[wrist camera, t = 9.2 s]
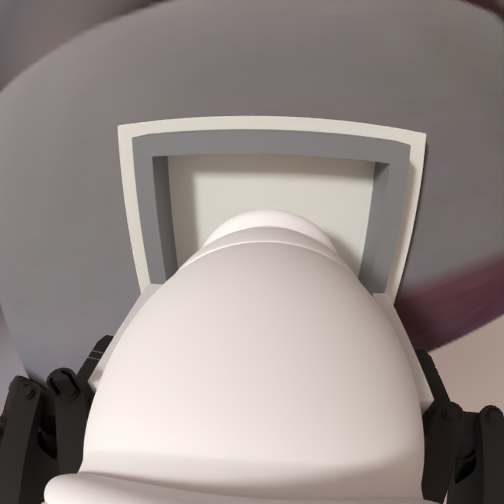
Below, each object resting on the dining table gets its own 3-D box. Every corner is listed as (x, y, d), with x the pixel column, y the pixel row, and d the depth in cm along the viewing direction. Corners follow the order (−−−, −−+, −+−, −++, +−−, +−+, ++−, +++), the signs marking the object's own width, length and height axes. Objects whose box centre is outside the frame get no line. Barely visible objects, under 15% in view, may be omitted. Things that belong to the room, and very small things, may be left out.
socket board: (156, 331, 26) (143, 359, 23) (125, 124, 18) (98, 128, 15) (375, 340, 24) (384, 370, 21) (418, 132, 16) (445, 138, 13)
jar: (329, 351, 20) (348, 566, 6) (182, 330, 20) (107, 539, 6) (378, 206, 15) (553, 484, 1) (185, 175, 15) (-63, 430, 2)
